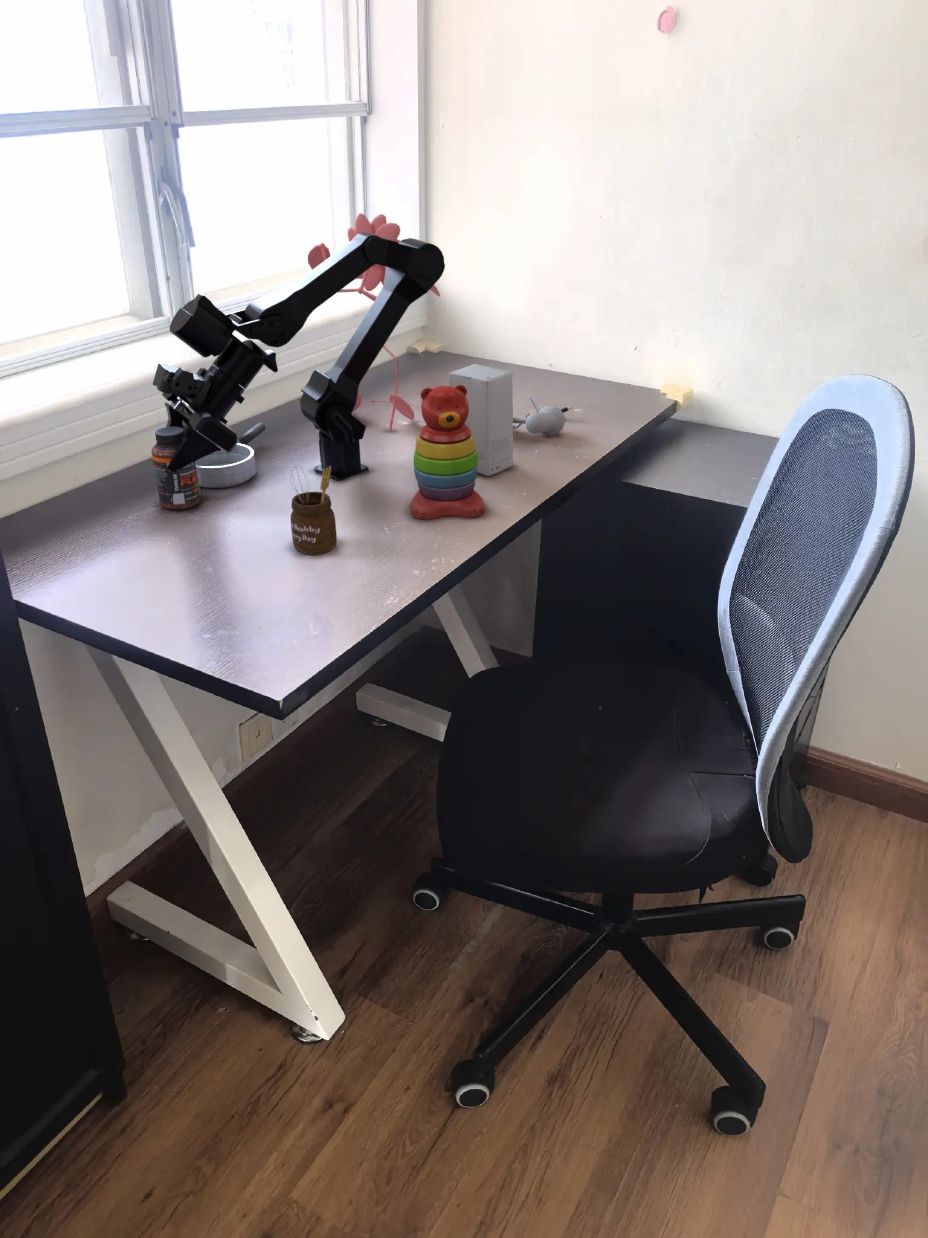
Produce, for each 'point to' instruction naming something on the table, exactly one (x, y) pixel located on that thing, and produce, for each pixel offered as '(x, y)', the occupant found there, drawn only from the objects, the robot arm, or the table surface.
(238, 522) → the table surface
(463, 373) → the cosmetic box
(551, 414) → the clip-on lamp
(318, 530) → the utensil holder
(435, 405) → the stacking bear
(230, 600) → the table surface
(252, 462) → the pan
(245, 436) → the pan handle
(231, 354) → the robot arm
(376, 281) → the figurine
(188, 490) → the supplement bottle
